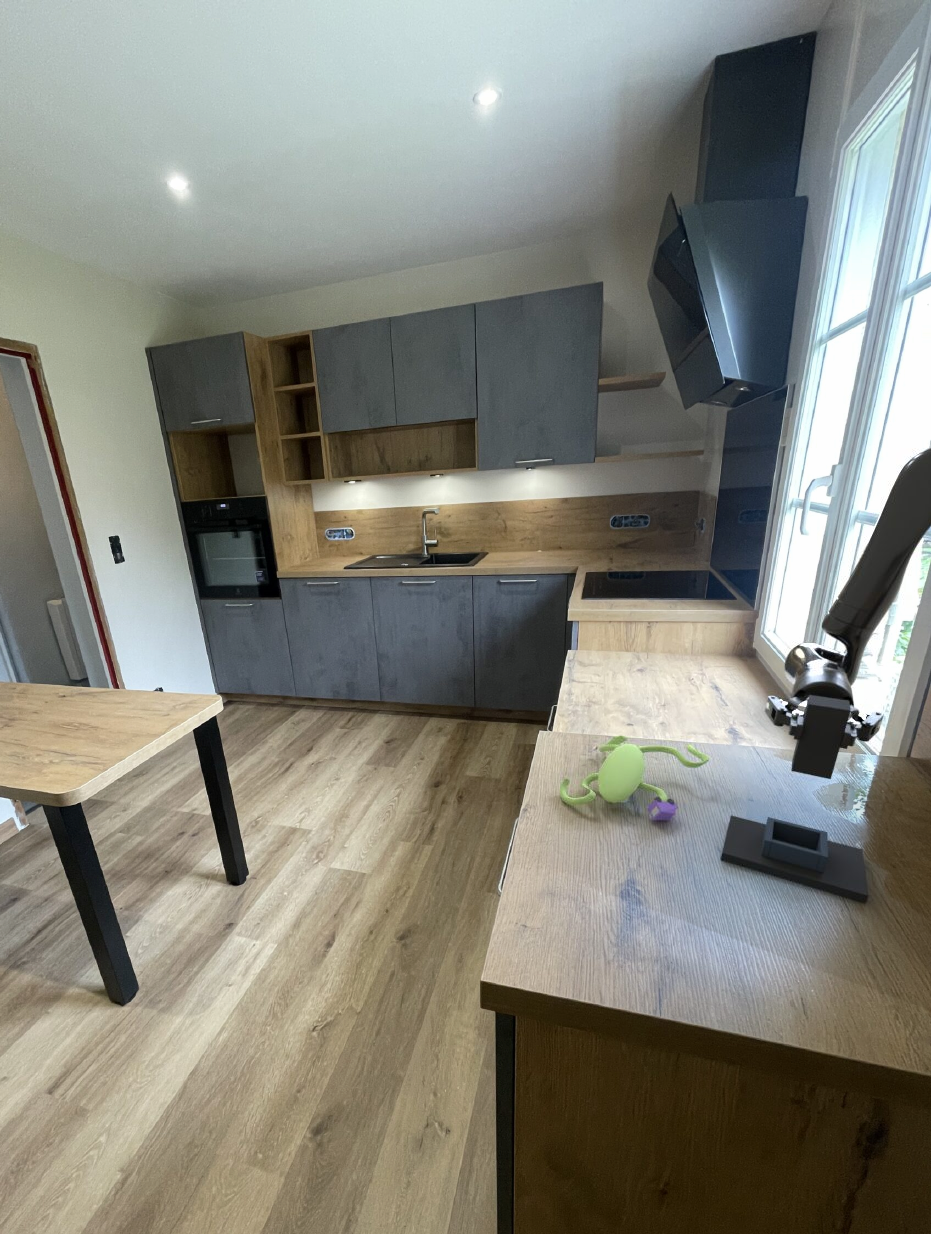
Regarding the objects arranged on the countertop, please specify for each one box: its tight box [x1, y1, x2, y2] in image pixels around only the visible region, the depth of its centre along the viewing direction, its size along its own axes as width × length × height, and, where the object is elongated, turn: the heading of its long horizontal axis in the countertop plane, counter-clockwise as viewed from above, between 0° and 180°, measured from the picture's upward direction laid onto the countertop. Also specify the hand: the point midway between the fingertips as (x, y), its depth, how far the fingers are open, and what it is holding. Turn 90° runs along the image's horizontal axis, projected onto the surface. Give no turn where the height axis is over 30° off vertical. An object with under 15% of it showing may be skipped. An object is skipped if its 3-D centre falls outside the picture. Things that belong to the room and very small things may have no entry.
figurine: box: [559, 735, 710, 822], centre depth 95 cm, size 18×27×6 cm
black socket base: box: [720, 814, 869, 904], centre depth 76 cm, size 16×11×4 cm
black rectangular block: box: [790, 695, 850, 780], centre depth 74 cm, size 4×4×10 cm
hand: (821, 737), depth 72 cm, fingers closed on black rectangular block, 4 cm apart
